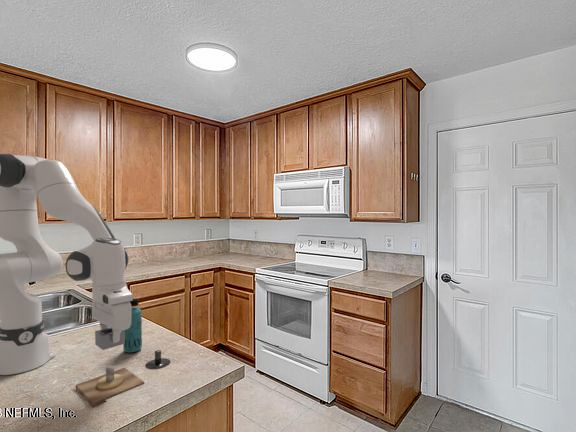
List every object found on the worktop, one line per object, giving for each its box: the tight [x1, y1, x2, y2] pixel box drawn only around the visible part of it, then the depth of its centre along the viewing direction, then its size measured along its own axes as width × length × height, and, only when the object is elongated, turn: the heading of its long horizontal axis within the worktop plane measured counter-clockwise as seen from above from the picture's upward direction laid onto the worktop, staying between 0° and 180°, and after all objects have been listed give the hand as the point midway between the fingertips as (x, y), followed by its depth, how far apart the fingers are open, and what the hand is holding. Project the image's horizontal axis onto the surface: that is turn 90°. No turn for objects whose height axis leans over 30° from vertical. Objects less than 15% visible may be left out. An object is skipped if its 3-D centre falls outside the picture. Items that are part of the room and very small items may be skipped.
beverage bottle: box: [122, 298, 143, 353], centre depth 121 cm, size 6×7×20 cm
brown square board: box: [75, 365, 145, 408], centre depth 97 cm, size 14×14×6 cm
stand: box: [144, 349, 171, 370], centre depth 110 cm, size 8×8×5 cm
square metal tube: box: [94, 327, 125, 351], centre depth 97 cm, size 6×6×4 cm
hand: (110, 338), depth 97 cm, fingers closed on square metal tube, 6 cm apart
